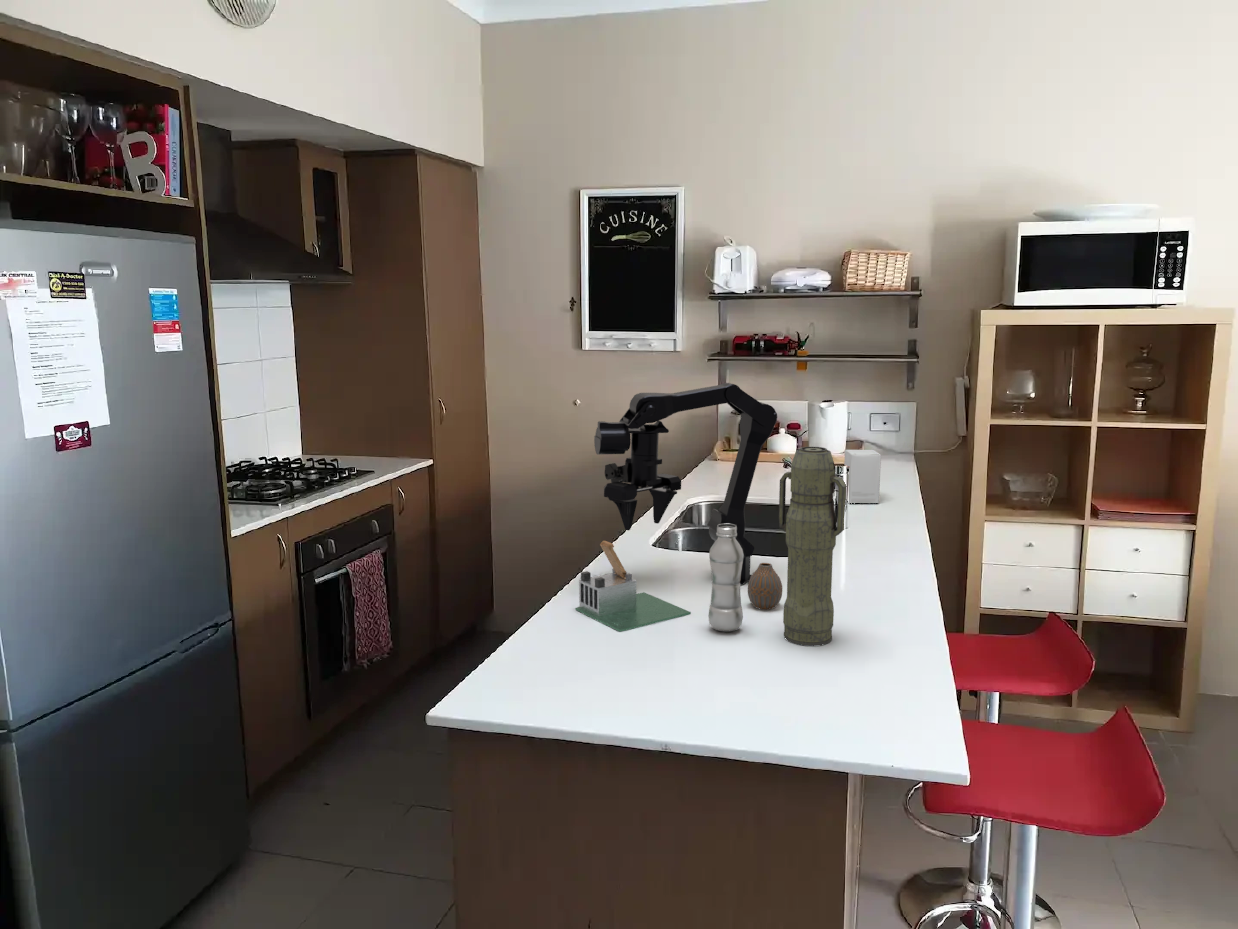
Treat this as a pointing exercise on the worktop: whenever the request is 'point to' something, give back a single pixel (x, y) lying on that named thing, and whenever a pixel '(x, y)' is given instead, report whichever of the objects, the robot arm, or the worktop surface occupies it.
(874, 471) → the supplement box
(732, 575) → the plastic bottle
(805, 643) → the thermos
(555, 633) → the worktop surface
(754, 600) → the vase
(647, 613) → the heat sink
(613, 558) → the tan flat bar
